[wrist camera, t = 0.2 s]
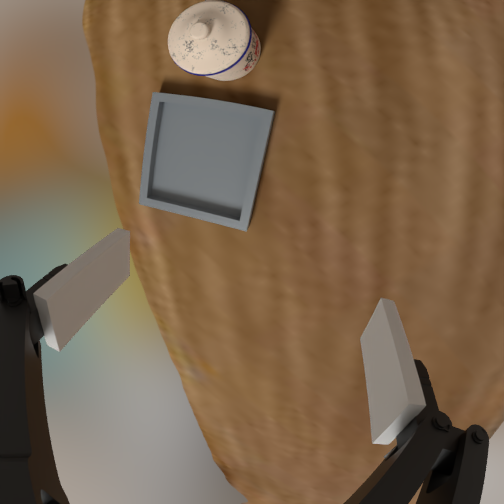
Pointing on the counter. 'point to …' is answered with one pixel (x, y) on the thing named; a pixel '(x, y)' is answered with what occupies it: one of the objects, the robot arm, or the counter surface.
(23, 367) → the robot arm
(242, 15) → the teacup with lid
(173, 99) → the cup tray
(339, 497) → the counter surface
